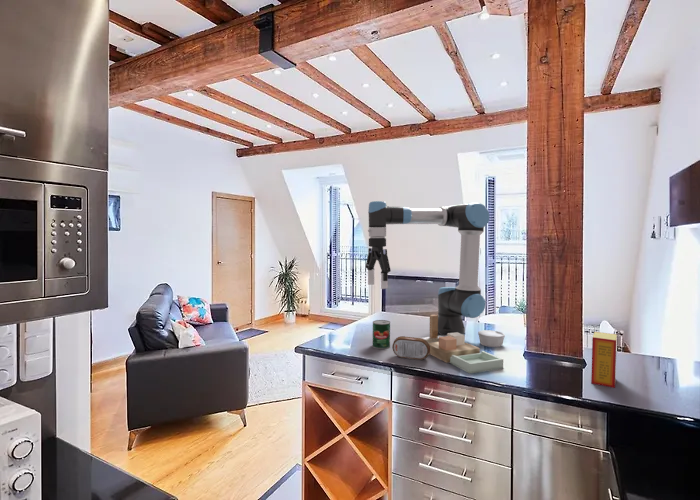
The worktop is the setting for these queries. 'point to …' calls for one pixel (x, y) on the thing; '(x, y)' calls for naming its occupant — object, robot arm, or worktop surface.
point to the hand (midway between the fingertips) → (377, 286)
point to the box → (477, 362)
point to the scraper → (433, 330)
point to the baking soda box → (604, 359)
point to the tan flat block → (451, 351)
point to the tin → (411, 347)
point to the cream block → (458, 338)
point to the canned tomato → (381, 334)
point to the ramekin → (491, 338)
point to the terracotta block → (447, 343)
